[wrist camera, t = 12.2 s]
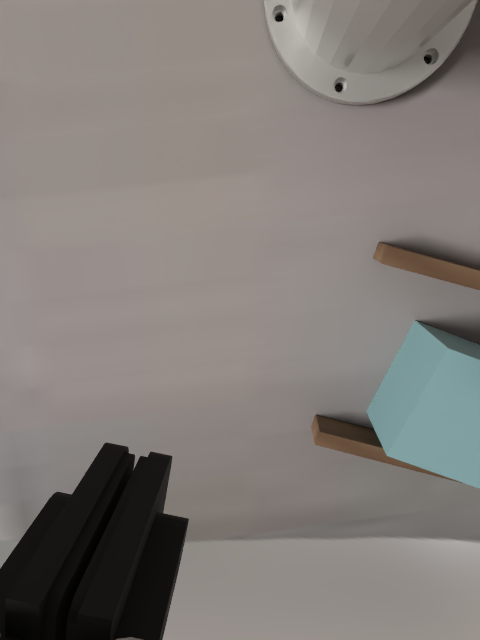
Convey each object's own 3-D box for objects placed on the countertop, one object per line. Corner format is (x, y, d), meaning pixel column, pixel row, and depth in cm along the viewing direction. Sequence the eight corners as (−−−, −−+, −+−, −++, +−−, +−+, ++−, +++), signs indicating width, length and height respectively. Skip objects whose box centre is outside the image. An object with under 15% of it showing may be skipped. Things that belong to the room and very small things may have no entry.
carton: (414, 319, 31) (448, 348, 25) (554, 372, 31) (619, 412, 26) (365, 410, 33) (386, 455, 28) (496, 457, 34) (543, 511, 28)
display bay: (378, 242, 29) (389, 246, 26) (617, 307, 29) (649, 317, 27) (311, 426, 34) (315, 444, 31) (517, 480, 34) (536, 502, 32)
